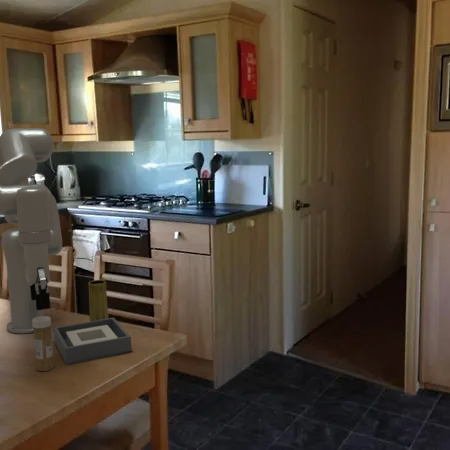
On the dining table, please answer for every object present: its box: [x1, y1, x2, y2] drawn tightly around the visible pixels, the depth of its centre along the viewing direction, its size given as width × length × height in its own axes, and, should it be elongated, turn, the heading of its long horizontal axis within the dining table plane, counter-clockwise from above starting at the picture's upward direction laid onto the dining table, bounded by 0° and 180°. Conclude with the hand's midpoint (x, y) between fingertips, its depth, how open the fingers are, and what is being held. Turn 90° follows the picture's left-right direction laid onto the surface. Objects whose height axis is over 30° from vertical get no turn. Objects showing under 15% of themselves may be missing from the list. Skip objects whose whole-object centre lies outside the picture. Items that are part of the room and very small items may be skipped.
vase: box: [87, 279, 109, 322], centre depth 169 cm, size 6×6×14 cm
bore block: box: [66, 325, 118, 347], centre depth 153 cm, size 12×12×3 cm
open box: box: [53, 317, 132, 366], centre depth 153 cm, size 18×18×4 cm
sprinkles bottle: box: [32, 315, 55, 372], centre depth 139 cm, size 5×5×13 cm
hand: (40, 304), depth 137 cm, fingers open, 9 cm apart
